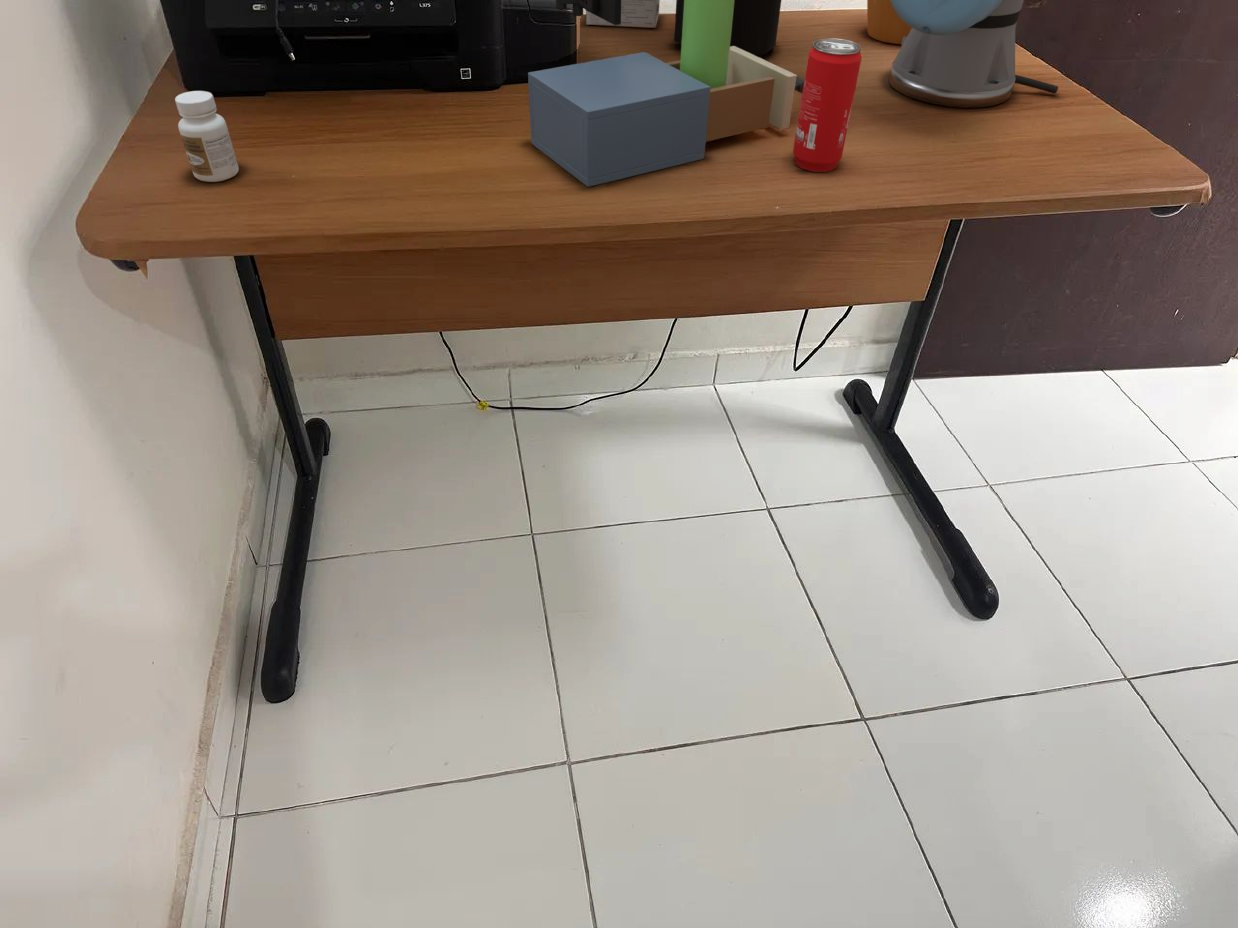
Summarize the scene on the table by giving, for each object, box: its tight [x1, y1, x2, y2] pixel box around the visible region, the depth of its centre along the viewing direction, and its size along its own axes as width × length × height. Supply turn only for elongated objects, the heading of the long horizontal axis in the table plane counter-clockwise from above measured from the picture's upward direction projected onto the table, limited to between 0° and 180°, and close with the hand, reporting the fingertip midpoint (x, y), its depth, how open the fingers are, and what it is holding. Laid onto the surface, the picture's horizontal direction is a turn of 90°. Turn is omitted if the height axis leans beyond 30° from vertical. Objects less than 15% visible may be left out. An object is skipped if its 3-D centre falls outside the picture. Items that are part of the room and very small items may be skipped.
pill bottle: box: [174, 90, 240, 183], centre depth 86 cm, size 4×4×8 cm
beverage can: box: [792, 37, 862, 173], centre depth 89 cm, size 5×5×12 cm
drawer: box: [665, 46, 805, 143], centre depth 98 cm, size 18×11×6 cm, turn 121°
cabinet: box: [527, 51, 710, 188], centre depth 92 cm, size 15×13×8 cm
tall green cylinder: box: [679, 0, 734, 89], centre depth 93 cm, size 5×5×15 cm
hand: (670, 3), depth 96 cm, fingers open, 13 cm apart
